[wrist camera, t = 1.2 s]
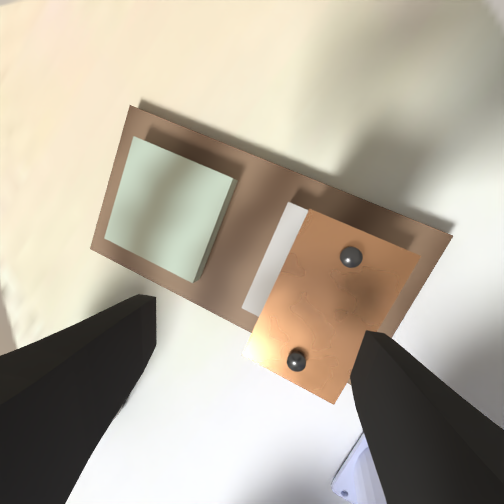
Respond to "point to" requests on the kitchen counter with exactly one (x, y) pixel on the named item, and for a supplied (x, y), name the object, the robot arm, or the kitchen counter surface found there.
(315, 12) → the kitchen counter surface
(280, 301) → the plate
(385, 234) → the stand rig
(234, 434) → the kitchen counter surface
